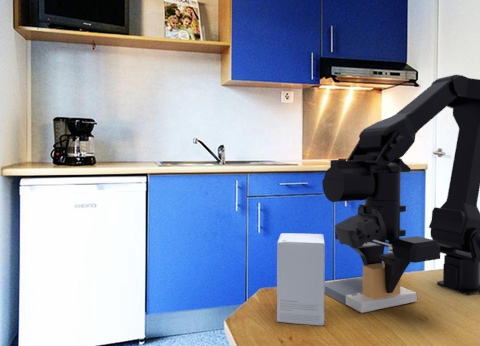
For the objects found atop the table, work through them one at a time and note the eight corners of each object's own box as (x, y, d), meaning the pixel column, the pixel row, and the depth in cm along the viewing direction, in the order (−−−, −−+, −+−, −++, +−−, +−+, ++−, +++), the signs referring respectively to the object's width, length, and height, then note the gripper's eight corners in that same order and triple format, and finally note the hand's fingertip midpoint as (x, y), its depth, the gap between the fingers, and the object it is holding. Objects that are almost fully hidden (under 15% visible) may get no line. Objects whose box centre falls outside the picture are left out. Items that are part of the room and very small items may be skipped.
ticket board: (370, 282, 76) (370, 275, 76) (397, 294, 69) (397, 286, 69) (320, 291, 71) (320, 283, 71) (344, 304, 64) (344, 295, 64)
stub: (398, 293, 69) (398, 258, 69) (416, 301, 65) (416, 264, 65) (345, 304, 64) (345, 266, 64) (361, 312, 61) (361, 273, 60)
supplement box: (325, 326, 56) (325, 243, 56) (275, 322, 58) (275, 241, 57) (324, 307, 63) (324, 233, 63) (280, 304, 65) (280, 231, 64)
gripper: (311, 196, 69) (311, 279, 70) (386, 208, 52) (385, 318, 53) (359, 193, 74) (358, 272, 74) (443, 204, 57) (442, 306, 57)
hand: (381, 289), depth 65 cm, fingers open, 3 cm apart
